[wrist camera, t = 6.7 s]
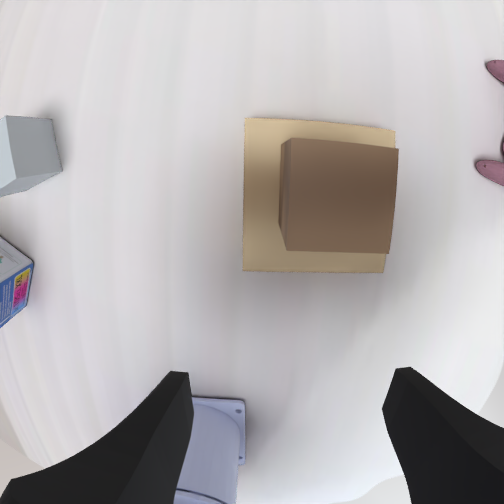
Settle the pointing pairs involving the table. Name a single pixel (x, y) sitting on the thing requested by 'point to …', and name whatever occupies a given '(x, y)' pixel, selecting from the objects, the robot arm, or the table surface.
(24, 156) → the grey block
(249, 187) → the oak slab
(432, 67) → the table surface
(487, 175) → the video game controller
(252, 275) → the table surface
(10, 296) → the ink cartridge box
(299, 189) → the walnut block
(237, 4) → the table surface
